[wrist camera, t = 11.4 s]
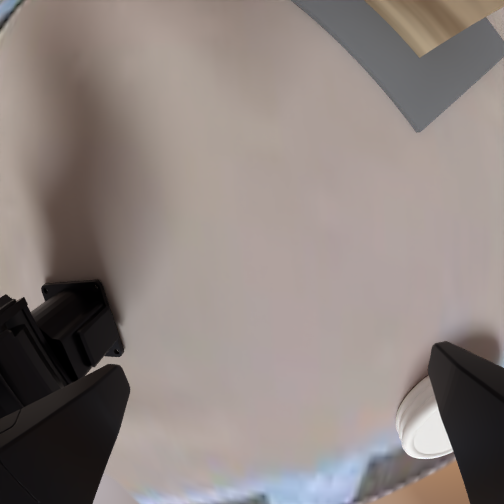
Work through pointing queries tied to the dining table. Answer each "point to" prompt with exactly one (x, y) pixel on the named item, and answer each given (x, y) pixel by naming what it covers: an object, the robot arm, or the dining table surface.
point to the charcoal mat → (409, 57)
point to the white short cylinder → (422, 424)
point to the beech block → (432, 19)
